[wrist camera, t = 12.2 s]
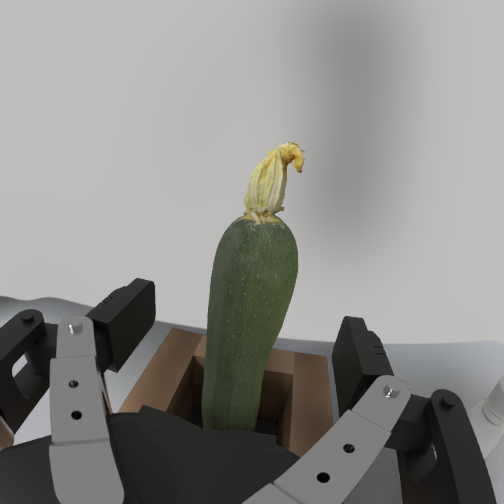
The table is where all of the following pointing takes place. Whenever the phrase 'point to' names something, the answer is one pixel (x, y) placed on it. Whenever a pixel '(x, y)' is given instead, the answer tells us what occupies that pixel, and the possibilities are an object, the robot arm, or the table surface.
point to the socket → (272, 389)
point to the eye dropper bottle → (488, 419)
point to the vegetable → (249, 297)
